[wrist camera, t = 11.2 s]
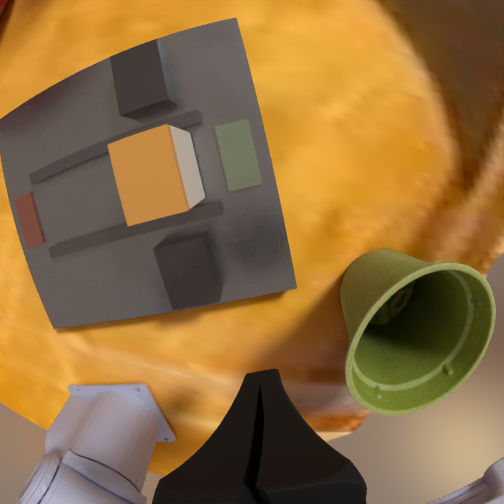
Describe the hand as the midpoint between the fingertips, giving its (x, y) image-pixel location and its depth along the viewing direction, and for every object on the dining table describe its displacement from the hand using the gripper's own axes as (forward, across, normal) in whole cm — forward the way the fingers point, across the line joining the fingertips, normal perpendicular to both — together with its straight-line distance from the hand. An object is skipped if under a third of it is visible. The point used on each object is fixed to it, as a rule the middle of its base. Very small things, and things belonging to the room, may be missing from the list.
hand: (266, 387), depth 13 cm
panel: (+10, +8, -10) cm, 16 cm away
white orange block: (+8, +3, -10) cm, 13 cm away
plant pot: (+10, -8, +2) cm, 13 cm away
